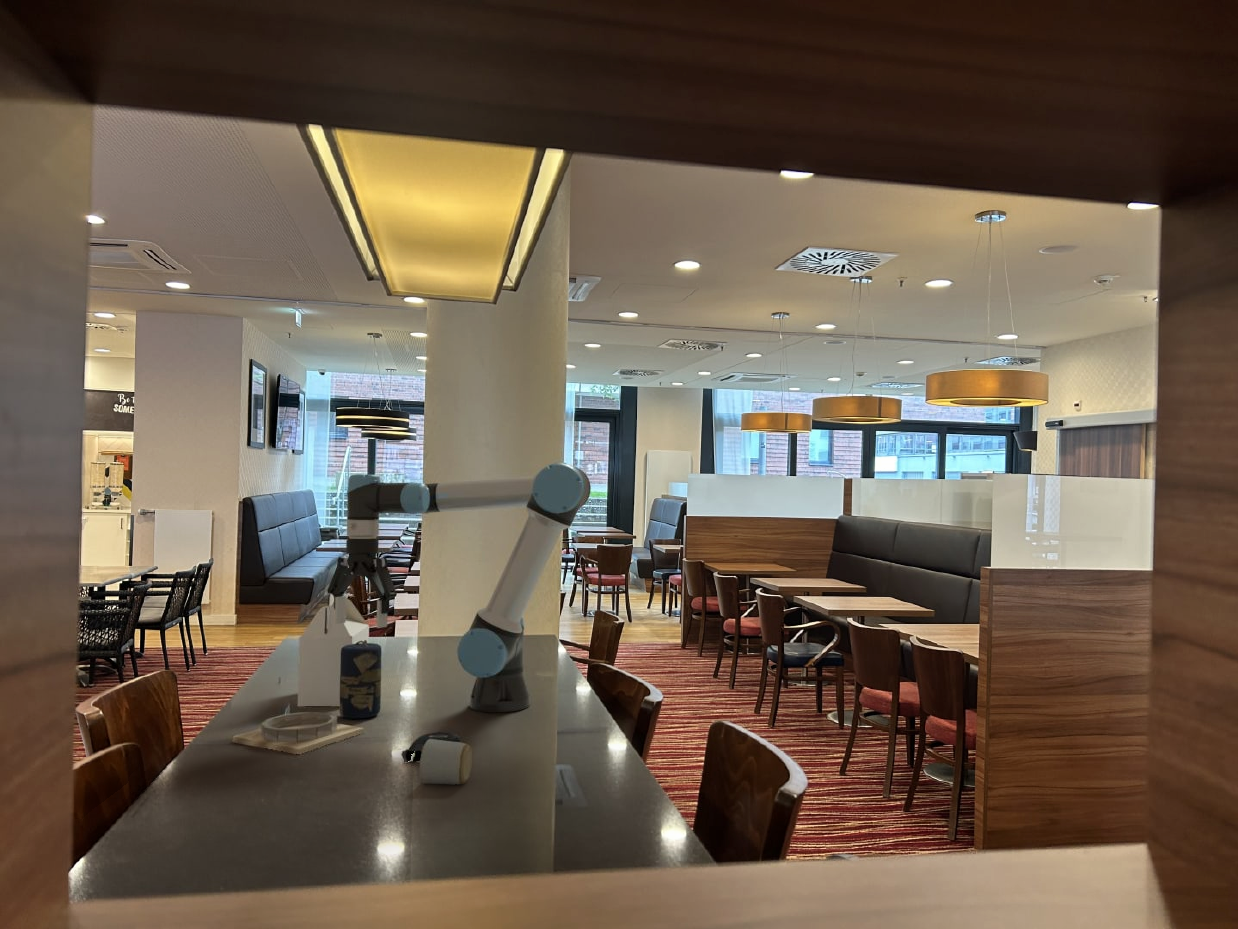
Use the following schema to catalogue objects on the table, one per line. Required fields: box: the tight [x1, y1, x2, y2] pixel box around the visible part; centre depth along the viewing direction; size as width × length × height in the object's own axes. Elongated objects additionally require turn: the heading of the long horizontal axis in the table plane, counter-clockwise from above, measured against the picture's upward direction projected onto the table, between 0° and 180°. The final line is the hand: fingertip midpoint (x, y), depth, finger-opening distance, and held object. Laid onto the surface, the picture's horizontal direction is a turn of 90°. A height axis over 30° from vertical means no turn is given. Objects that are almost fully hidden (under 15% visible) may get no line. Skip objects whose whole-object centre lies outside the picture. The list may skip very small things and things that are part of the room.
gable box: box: [297, 592, 370, 707], centre depth 219 cm, size 22×13×28 cm, turn 6°
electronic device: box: [400, 731, 462, 763], centre depth 169 cm, size 9×6×15 cm
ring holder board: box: [232, 711, 365, 755], centre depth 180 cm, size 20×18×4 cm
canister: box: [339, 641, 383, 719], centre depth 199 cm, size 10×10×18 cm
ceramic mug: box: [419, 739, 473, 785], centre depth 152 cm, size 11×8×8 cm
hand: (360, 625), depth 200 cm, fingers open, 13 cm apart
